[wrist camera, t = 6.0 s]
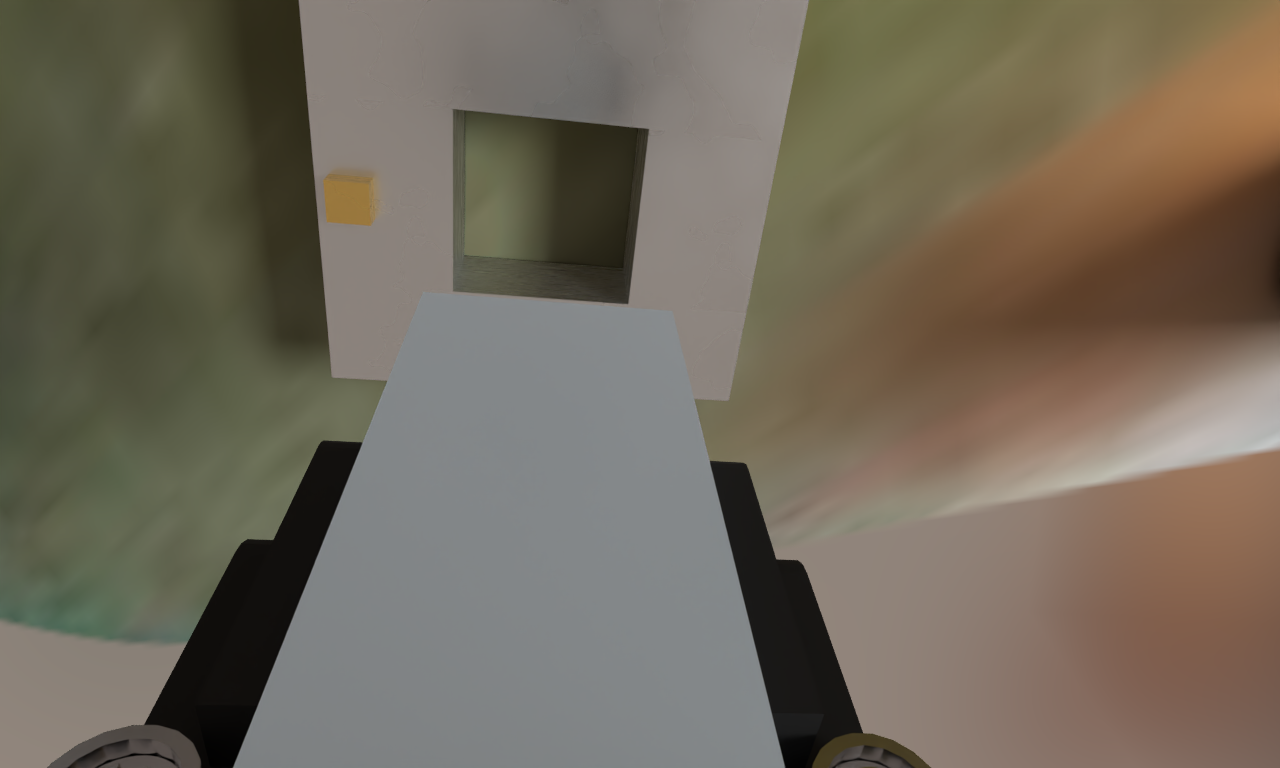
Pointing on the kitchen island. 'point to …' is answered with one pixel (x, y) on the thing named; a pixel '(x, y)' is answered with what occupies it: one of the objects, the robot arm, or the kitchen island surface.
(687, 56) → the panel
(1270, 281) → the kitchen island surface
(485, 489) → the plug
